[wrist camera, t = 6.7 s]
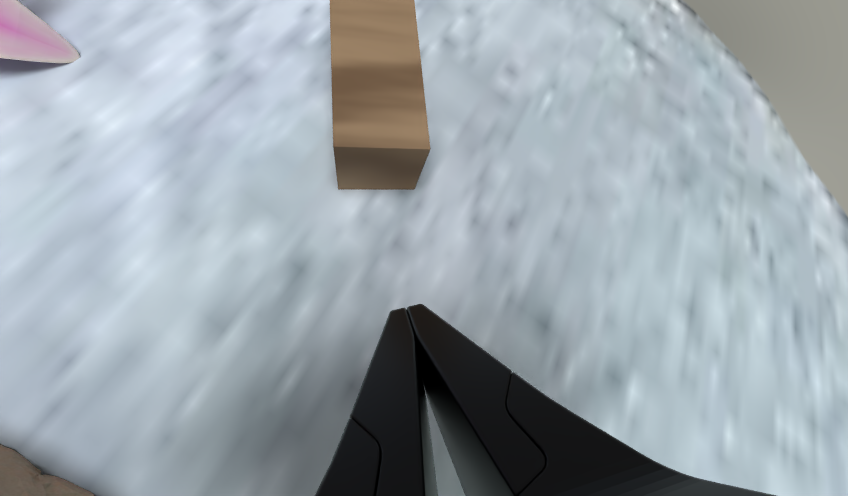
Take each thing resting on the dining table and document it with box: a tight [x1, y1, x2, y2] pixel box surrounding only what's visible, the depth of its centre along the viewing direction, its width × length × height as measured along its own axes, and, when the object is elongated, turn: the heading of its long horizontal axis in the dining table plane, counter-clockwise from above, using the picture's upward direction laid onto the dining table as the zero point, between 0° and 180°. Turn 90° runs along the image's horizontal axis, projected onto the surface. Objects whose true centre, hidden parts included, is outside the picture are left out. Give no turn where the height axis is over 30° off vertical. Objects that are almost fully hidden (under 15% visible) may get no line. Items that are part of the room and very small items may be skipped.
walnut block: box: [330, 0, 430, 189], centre depth 21 cm, size 5×5×12 cm
